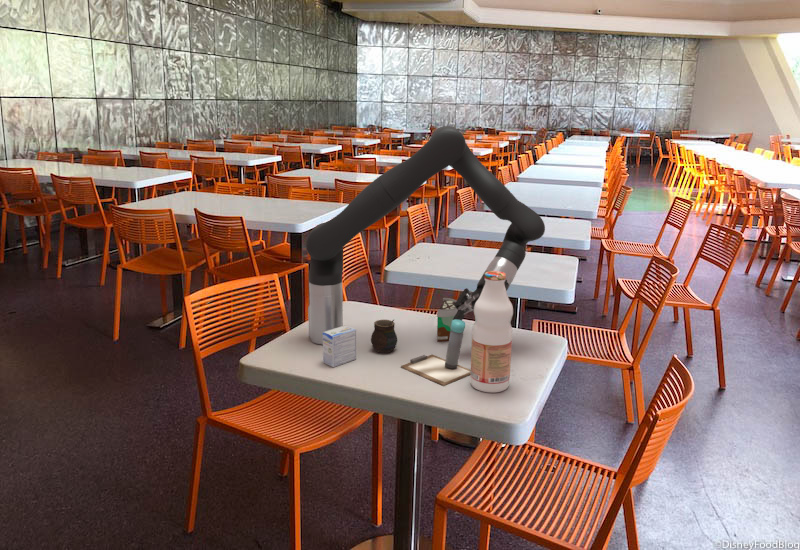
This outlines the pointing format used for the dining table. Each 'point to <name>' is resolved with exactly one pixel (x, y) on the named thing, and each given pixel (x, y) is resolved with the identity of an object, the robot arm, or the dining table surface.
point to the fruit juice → (492, 336)
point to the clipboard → (435, 369)
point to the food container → (445, 319)
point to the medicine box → (339, 346)
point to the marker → (454, 344)
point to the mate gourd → (384, 336)
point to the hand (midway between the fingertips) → (467, 329)
